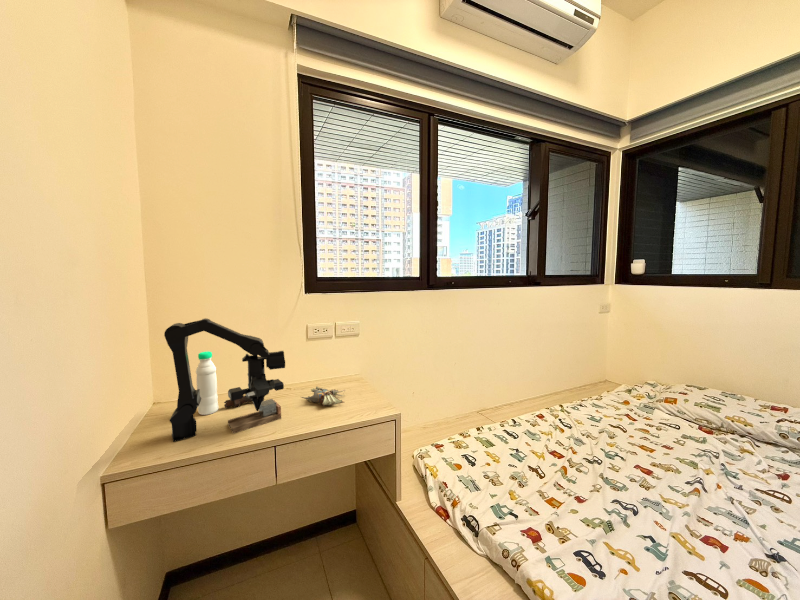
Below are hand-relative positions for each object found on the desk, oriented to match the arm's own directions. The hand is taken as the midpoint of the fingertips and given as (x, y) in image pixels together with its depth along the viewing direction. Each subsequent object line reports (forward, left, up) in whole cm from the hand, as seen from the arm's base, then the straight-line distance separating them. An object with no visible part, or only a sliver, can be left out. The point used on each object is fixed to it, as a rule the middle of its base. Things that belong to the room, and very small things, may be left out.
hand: (257, 410), depth 117 cm
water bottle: (-13, +22, -4) cm, 26 cm away
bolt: (0, +20, -5) cm, 21 cm away
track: (-1, 0, -4) cm, 4 cm away
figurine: (+28, -2, -5) cm, 29 cm away
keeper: (+4, 0, -3) cm, 5 cm away
